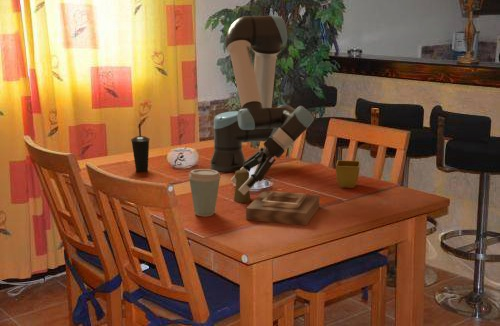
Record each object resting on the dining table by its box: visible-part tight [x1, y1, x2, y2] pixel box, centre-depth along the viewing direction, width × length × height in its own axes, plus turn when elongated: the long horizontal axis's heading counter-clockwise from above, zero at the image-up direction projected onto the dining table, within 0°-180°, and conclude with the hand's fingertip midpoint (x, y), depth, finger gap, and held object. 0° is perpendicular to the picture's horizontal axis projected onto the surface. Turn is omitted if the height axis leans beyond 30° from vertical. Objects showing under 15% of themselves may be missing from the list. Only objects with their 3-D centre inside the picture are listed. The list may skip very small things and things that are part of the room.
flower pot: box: [335, 159, 361, 189], centre depth 256 cm, size 9×9×9 cm
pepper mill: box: [233, 170, 252, 204], centre depth 240 cm, size 6×6×11 cm
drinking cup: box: [130, 123, 150, 173], centre depth 279 cm, size 8×8×20 cm
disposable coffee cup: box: [188, 168, 221, 217], centre depth 224 cm, size 11×11×15 cm
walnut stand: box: [245, 190, 321, 226], centre depth 226 cm, size 20×20×6 cm
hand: (237, 187), depth 239 cm, fingers open, 13 cm apart
